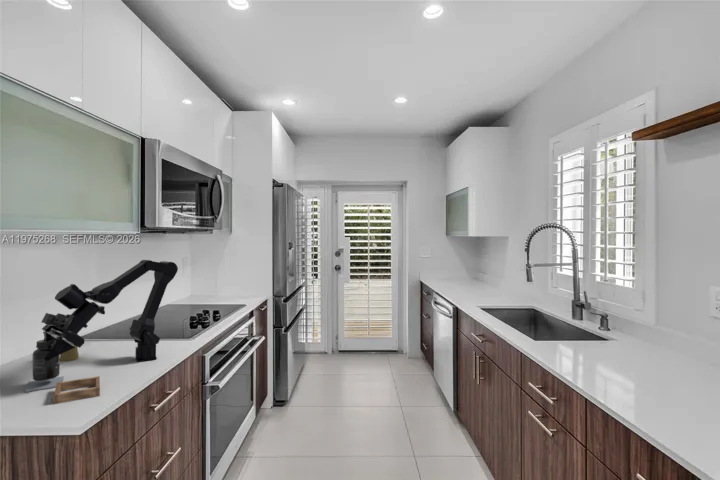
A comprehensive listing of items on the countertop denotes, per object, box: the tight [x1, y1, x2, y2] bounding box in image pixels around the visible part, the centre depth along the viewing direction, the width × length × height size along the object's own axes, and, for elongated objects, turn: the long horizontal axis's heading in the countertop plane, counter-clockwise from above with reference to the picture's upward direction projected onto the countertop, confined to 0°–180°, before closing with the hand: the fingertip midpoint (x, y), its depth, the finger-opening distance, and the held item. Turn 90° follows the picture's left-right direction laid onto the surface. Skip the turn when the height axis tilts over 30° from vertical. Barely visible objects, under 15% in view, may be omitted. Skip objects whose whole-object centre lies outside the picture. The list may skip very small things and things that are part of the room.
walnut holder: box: [53, 375, 101, 405], centre depth 119 cm, size 11×11×2 cm
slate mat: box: [24, 376, 65, 393], centre depth 125 cm, size 9×9×1 cm
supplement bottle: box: [31, 338, 61, 381], centre depth 125 cm, size 7×7×12 cm
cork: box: [60, 332, 80, 363], centre depth 150 cm, size 6×6×11 cm
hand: (40, 358), depth 124 cm, fingers closed on supplement bottle, 7 cm apart
